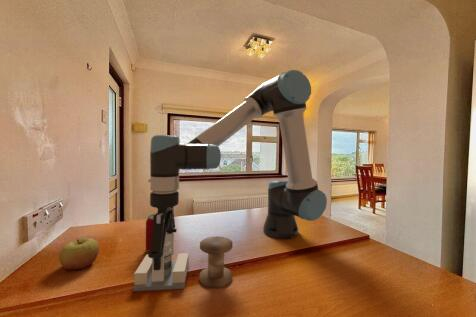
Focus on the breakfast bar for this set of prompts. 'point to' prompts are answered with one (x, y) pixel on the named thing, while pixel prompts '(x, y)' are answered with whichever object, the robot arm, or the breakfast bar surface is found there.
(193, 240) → the breakfast bar surface
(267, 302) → the breakfast bar surface
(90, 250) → the apple
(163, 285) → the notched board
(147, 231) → the beverage can
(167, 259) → the pill bottle
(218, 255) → the bobbin
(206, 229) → the breakfast bar surface
